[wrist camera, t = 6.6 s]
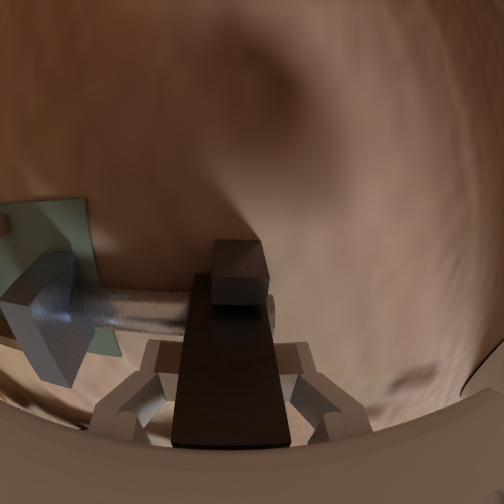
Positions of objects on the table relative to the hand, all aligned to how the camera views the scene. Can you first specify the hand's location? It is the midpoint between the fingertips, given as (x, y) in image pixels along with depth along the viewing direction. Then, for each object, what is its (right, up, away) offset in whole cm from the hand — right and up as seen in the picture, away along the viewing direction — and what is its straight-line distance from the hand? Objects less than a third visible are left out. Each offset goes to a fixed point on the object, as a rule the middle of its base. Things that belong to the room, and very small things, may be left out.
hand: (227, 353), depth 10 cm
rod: (-4, +2, +3) cm, 5 cm away
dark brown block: (0, +2, +3) cm, 4 cm away
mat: (-14, +2, +2) cm, 14 cm away
